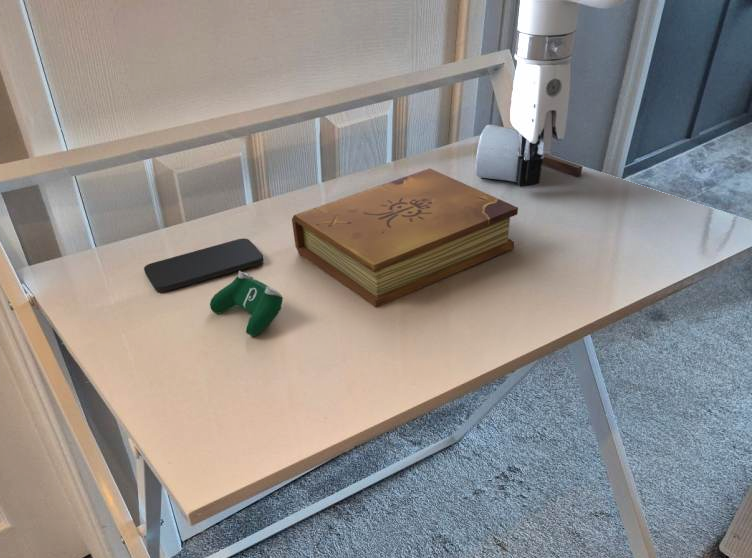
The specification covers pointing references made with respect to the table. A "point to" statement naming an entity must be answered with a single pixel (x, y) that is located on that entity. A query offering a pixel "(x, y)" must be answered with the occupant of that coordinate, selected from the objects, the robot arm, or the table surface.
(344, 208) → the diary
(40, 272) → the table surface
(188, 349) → the table surface
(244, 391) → the table surface
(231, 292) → the gaming controller
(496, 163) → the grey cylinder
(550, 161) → the back rail
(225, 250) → the phone
